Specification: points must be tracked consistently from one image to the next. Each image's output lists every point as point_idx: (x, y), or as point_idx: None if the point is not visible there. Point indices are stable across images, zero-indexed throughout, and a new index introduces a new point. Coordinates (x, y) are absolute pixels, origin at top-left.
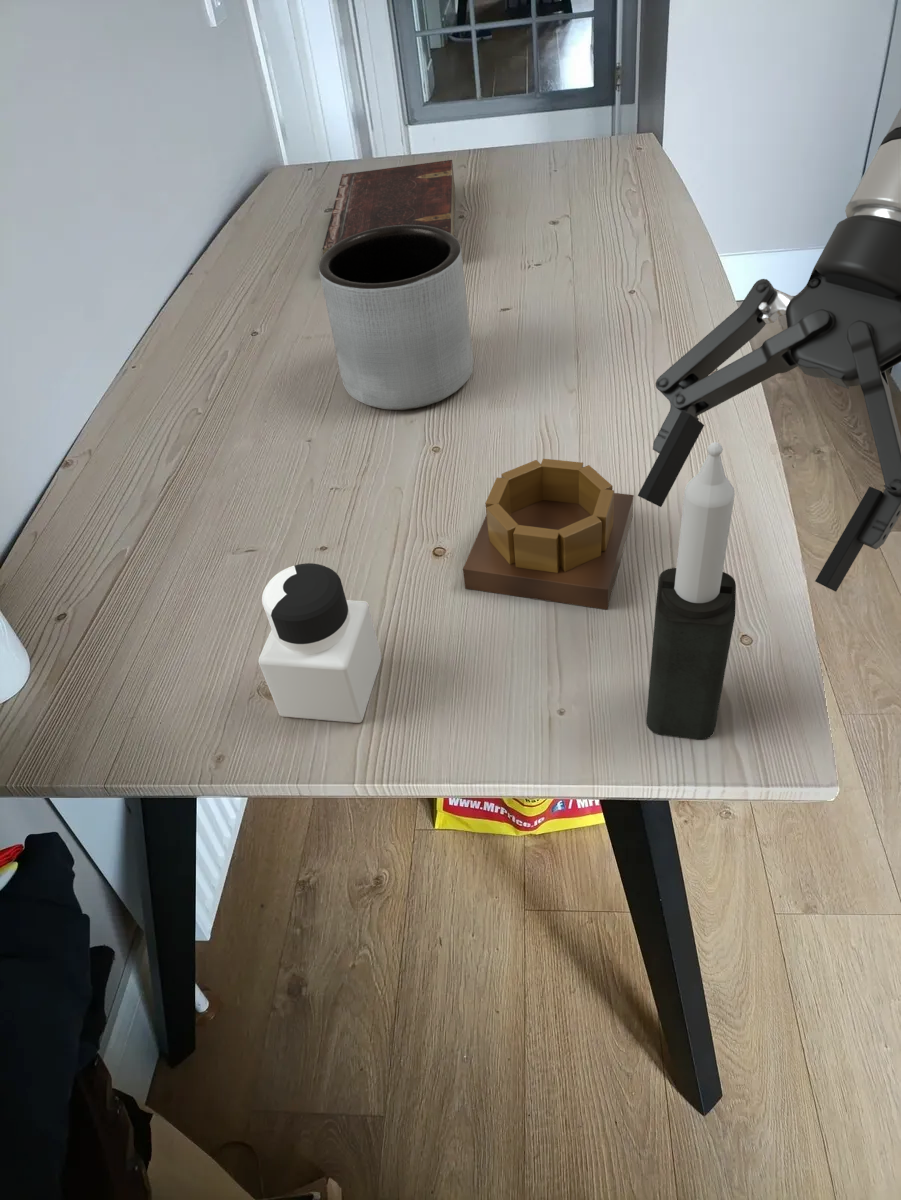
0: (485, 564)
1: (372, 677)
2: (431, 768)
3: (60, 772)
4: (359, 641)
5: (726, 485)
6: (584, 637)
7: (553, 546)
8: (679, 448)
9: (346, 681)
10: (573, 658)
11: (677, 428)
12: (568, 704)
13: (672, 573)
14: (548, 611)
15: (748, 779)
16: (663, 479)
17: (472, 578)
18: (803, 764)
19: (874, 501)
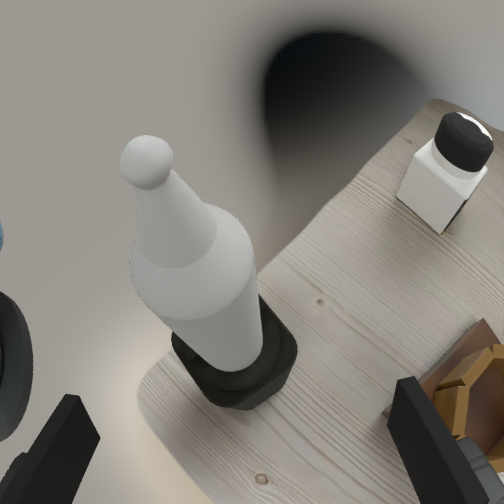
0: (478, 336)
1: (423, 214)
2: (338, 206)
3: (431, 105)
4: (436, 180)
5: (135, 248)
6: (370, 373)
7: (457, 377)
8: (433, 472)
9: (409, 164)
10: (358, 349)
11: (466, 477)
12: (322, 311)
13: (274, 338)
14: (414, 367)
15: (168, 357)
16: (409, 426)
17: (473, 326)
18: (146, 396)
19: (6, 491)
